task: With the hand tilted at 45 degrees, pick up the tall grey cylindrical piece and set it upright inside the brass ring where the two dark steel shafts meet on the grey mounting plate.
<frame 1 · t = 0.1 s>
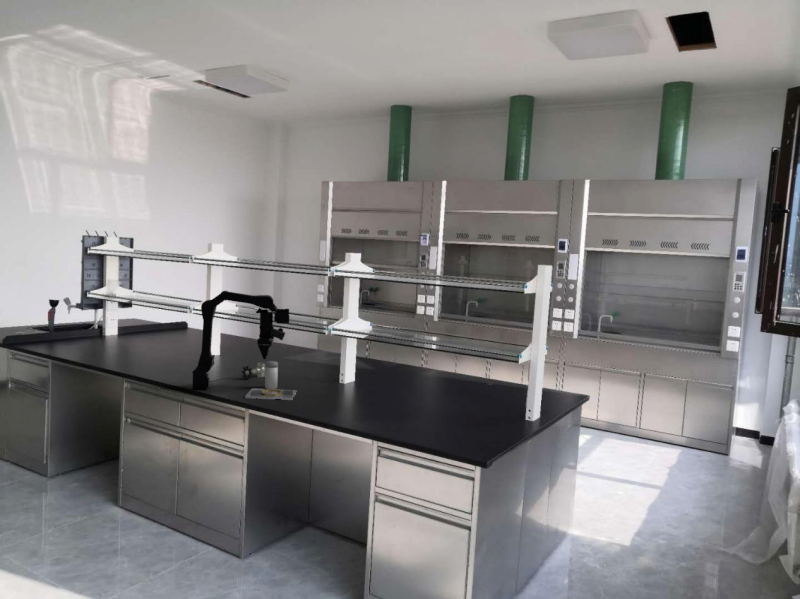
hand: (265, 357, 283), 15 cm above the worktop, tool pointing down, fingers open, 9 cm apart
shaft mount: (271, 395, 274), on the worktop
valve: (255, 378, 307), on the worktop
grey cylindrical piece: (271, 388, 288), on the worktop
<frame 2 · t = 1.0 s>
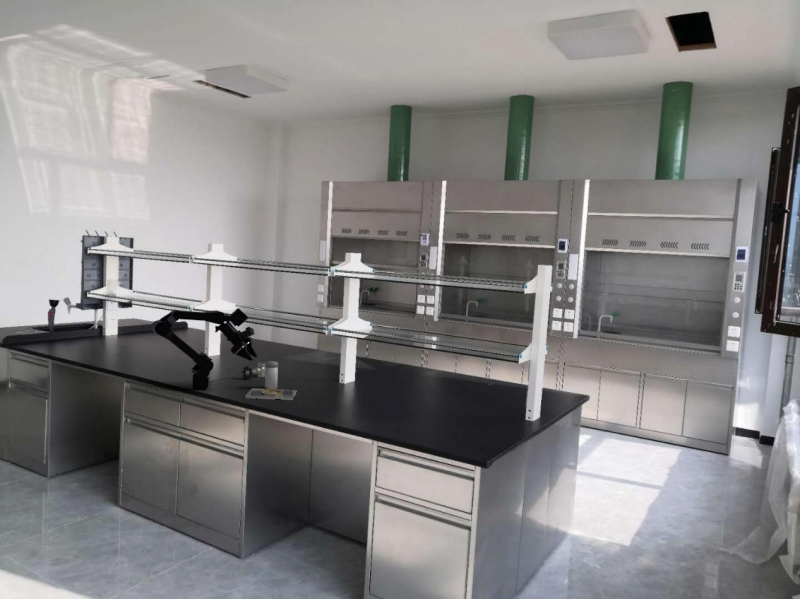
hand: (254, 358, 286), 13 cm above the worktop, tool tilted 45°, fingers open, 9 cm apart
nothing on the worktop moved.
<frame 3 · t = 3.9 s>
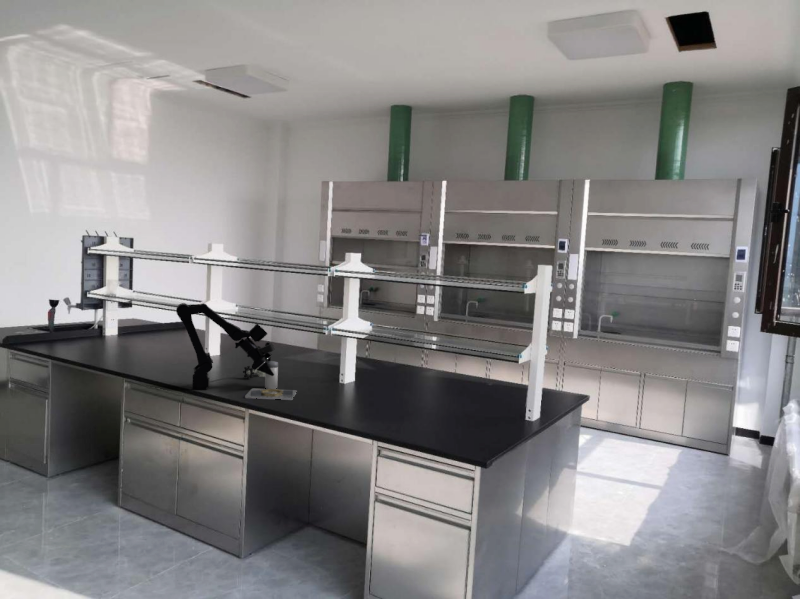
hand: (274, 374, 287), 7 cm above the worktop, tool tilted 45°, fingers closed on grey cylindrical piece, 6 cm apart
grey cylindrical piece: (271, 388, 288), on the worktop, touching gripper
when the fingers open (9 cm above the worktop, at t = 7.5 s): grey cylindrical piece drops 1 cm, resting on shaft mount.
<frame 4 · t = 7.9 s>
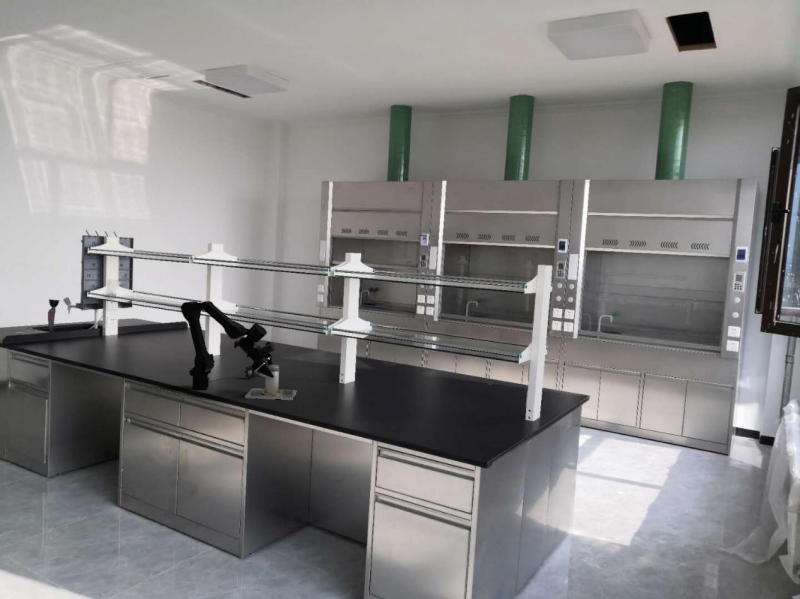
hand: (275, 375, 274), 9 cm above the worktop, tool tilted 45°, fingers open, 9 cm apart
grey cylindrical piece: (271, 392, 274), point 1 cm above the worktop, touching shaft mount
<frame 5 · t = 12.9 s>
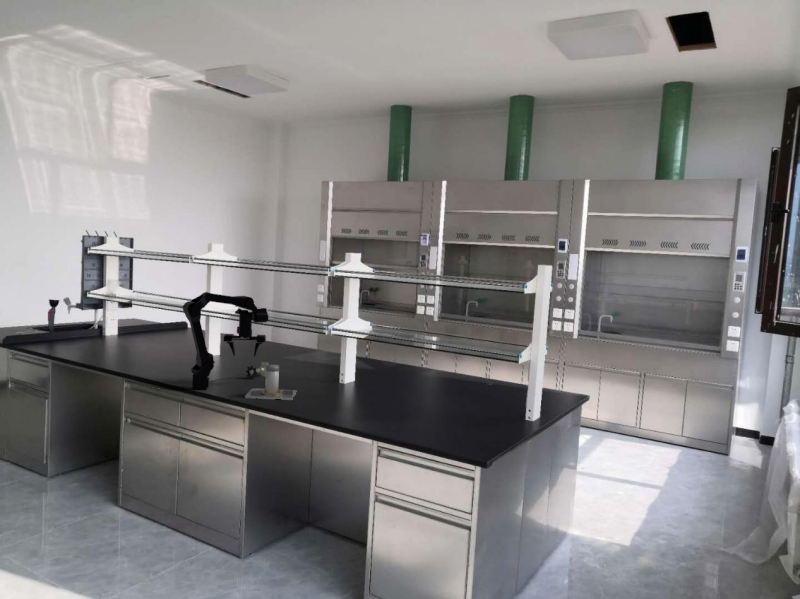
hand: (244, 356, 292), 13 cm above the worktop, tool pointing down, fingers open, 9 cm apart
at the end: grey cylindrical piece 0.1 cm off-centre on the shaft mount, point 1.0 cm above the shaft mount's base; grey cylindrical piece tilted 1°; the gripper is holding nothing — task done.
